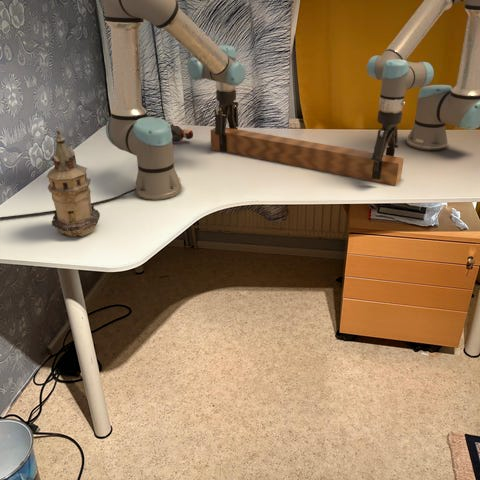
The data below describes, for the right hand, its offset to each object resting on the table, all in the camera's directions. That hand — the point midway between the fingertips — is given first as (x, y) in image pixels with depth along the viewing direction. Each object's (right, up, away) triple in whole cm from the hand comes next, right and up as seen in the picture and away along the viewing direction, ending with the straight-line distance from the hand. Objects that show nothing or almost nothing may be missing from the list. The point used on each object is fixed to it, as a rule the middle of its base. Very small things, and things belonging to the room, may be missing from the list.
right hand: (382, 172), depth 183 cm
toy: (-82, +18, +40) cm, 93 cm away
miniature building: (-96, -20, -27) cm, 101 cm away
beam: (-27, +5, +16) cm, 31 cm away
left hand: (-54, +13, +29) cm, 62 cm away
